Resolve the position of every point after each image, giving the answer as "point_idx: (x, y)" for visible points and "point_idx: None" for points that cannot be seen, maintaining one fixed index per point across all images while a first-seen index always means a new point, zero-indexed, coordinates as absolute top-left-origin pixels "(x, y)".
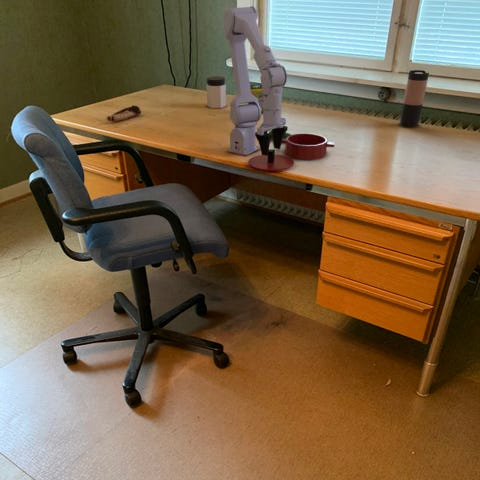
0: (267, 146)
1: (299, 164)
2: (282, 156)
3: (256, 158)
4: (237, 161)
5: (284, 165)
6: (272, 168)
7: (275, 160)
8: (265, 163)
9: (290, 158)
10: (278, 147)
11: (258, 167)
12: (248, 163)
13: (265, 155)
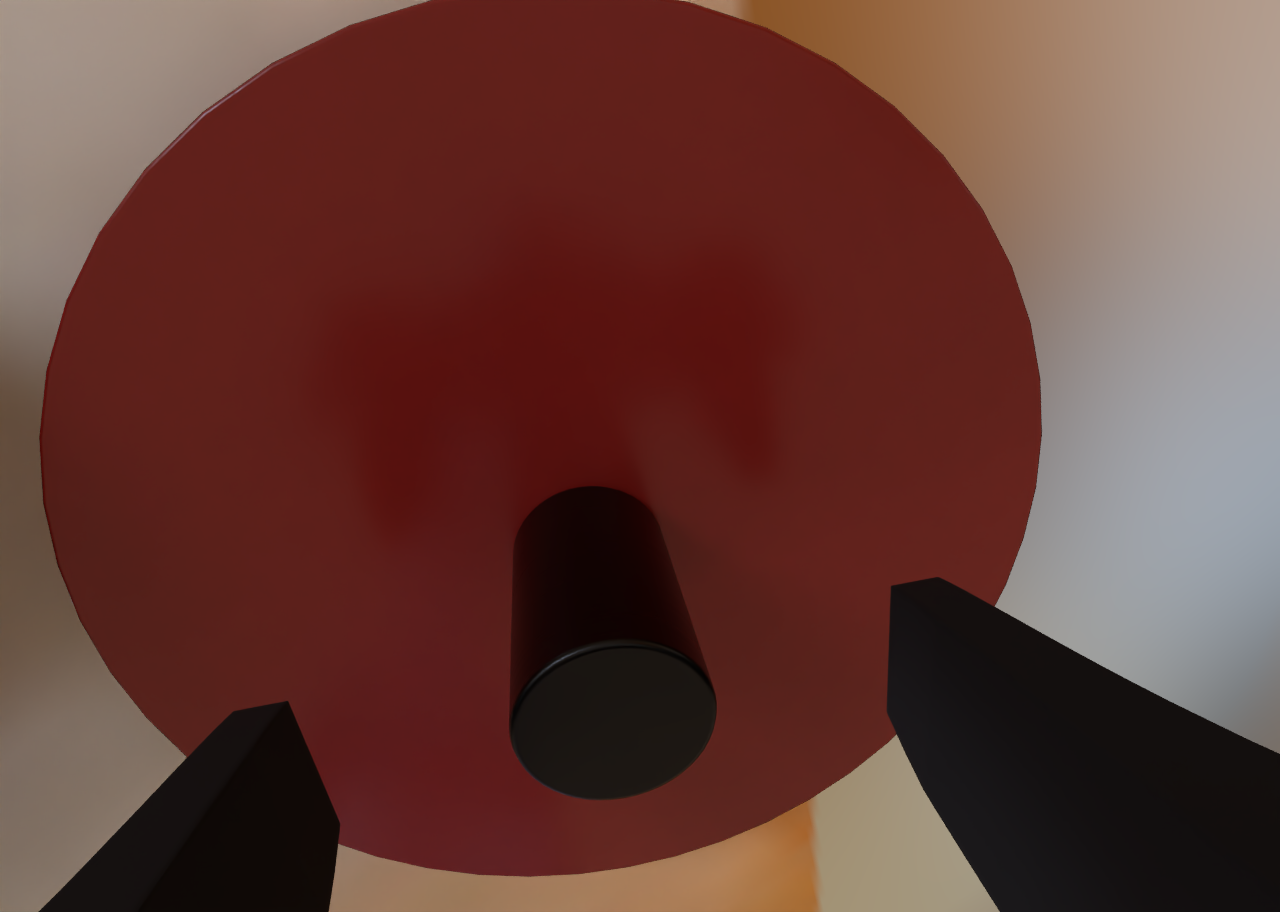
0: (1239, 737)
1: (12, 48)
2: (149, 597)
3: (643, 797)
4: (800, 888)
5: (573, 163)
6: (915, 252)
7: (468, 532)
8: (750, 548)
9: (62, 386)
10: (279, 757)
11: (1007, 493)
12: (883, 733)
13: (407, 812)
